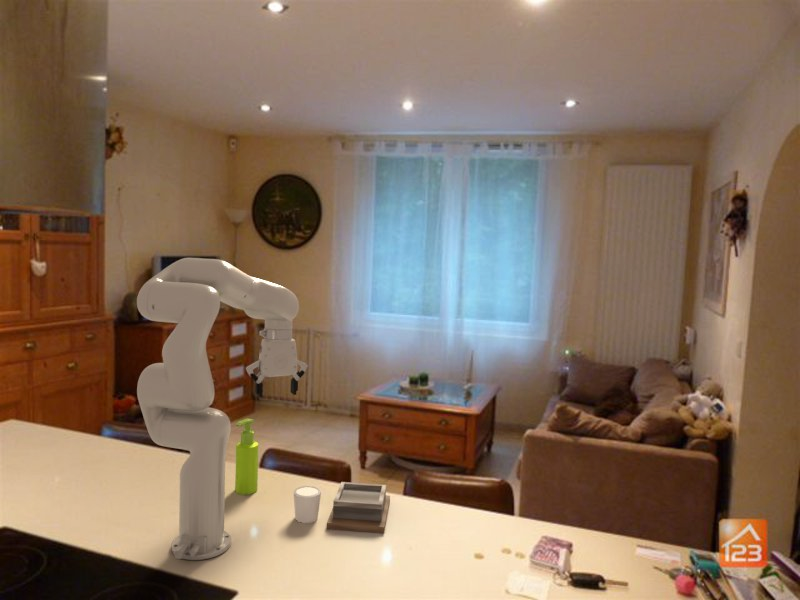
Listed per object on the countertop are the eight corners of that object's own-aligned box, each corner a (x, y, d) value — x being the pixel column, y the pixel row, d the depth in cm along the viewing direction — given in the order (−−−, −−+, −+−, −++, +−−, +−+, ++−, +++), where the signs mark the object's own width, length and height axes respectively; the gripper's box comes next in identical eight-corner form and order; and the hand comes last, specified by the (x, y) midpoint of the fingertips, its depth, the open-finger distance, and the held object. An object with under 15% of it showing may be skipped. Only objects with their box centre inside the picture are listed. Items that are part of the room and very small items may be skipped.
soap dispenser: (227, 492, 160) (229, 421, 158) (245, 484, 166) (247, 415, 164) (244, 498, 157) (245, 425, 155) (261, 489, 163) (263, 418, 161)
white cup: (317, 525, 144) (318, 497, 143) (290, 523, 144) (290, 496, 143) (322, 512, 151) (323, 486, 150) (295, 511, 151) (296, 484, 150)
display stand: (384, 533, 141) (385, 510, 141) (326, 529, 142) (327, 506, 142) (389, 501, 159) (390, 480, 159) (338, 497, 160) (339, 477, 159)
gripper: (250, 337, 156) (249, 401, 157) (312, 335, 164) (310, 395, 165) (243, 333, 162) (242, 394, 164) (303, 331, 171) (301, 389, 172)
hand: (276, 395), depth 165 cm, fingers open, 9 cm apart
